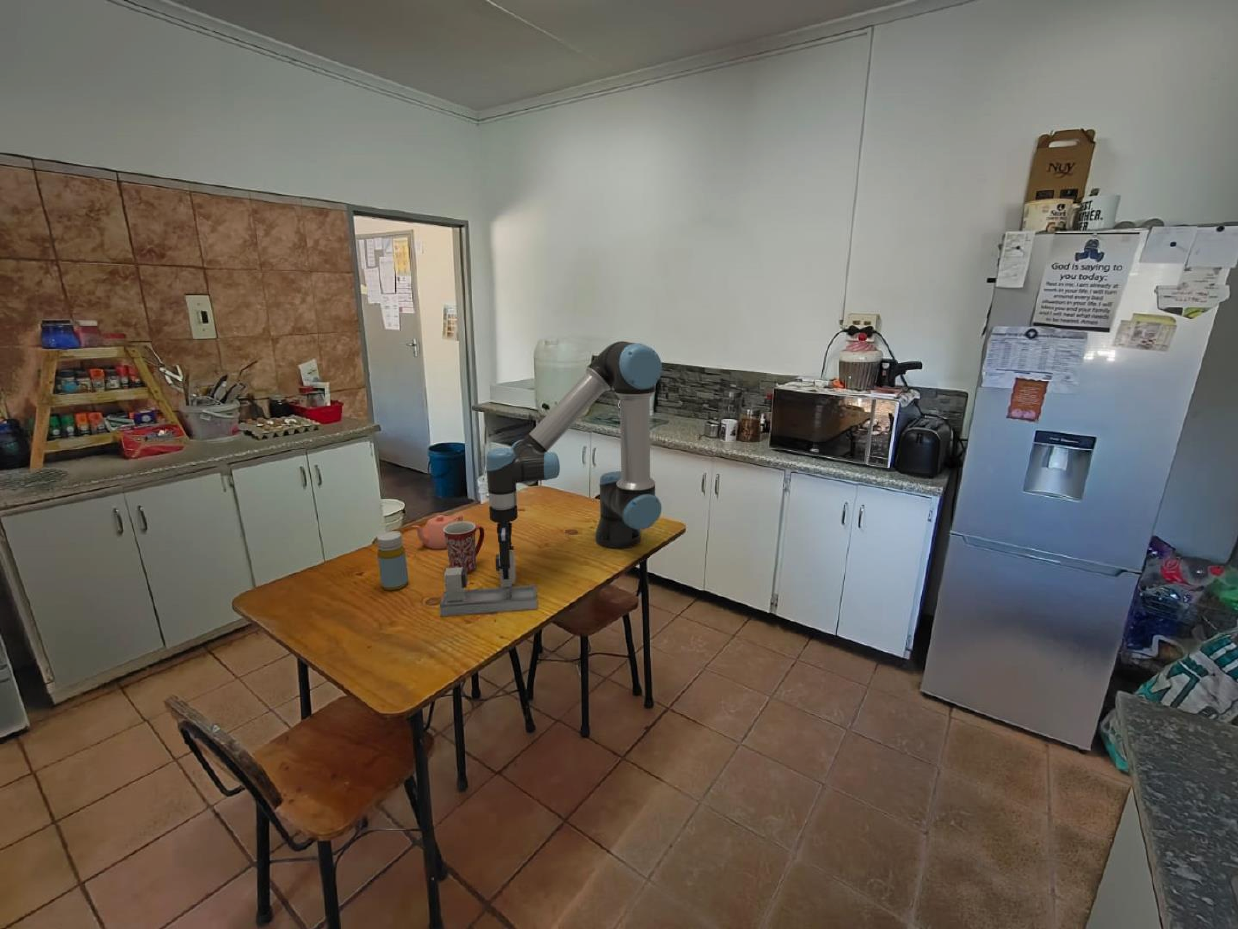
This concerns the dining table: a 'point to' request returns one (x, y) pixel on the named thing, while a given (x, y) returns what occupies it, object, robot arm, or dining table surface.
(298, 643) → the dining table surface
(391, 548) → the bottle
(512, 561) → the small grey block
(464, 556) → the mug
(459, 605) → the rail
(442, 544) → the teapot
